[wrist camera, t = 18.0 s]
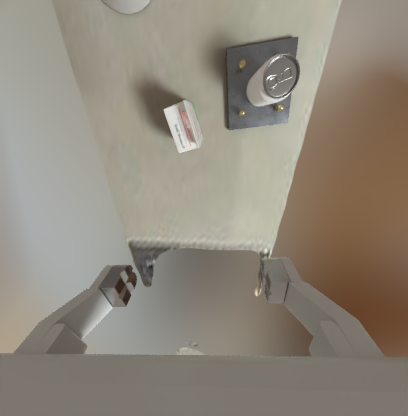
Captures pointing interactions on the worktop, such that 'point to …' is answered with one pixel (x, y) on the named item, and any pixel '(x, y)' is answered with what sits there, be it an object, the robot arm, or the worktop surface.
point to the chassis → (239, 77)
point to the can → (273, 80)
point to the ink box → (184, 126)
